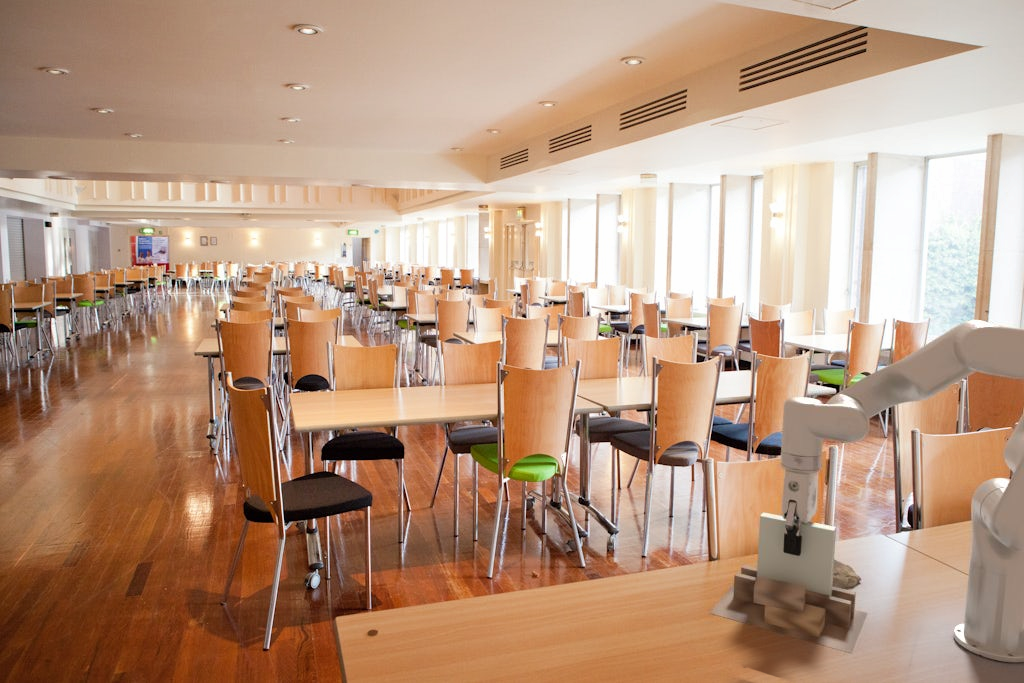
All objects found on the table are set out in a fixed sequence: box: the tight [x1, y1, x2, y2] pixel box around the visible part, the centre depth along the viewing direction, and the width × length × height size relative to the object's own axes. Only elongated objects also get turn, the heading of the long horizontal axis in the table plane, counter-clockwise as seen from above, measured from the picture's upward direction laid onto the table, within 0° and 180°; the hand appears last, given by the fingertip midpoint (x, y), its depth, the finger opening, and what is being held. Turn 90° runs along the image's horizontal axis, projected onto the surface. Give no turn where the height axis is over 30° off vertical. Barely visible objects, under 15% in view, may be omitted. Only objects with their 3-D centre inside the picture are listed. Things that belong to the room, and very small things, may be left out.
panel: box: [756, 512, 837, 596], centre depth 150 cm, size 14×2×18 cm, turn 56°
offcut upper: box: [753, 577, 806, 613], centre depth 145 cm, size 9×4×4 cm, turn 64°
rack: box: [709, 564, 868, 654], centre depth 148 cm, size 26×18×6 cm
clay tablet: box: [832, 558, 862, 589], centre depth 165 cm, size 14×5×20 cm
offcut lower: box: [764, 604, 826, 637], centre depth 144 cm, size 10×5×4 cm, turn 56°
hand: (795, 547), depth 149 cm, fingers open, 5 cm apart
